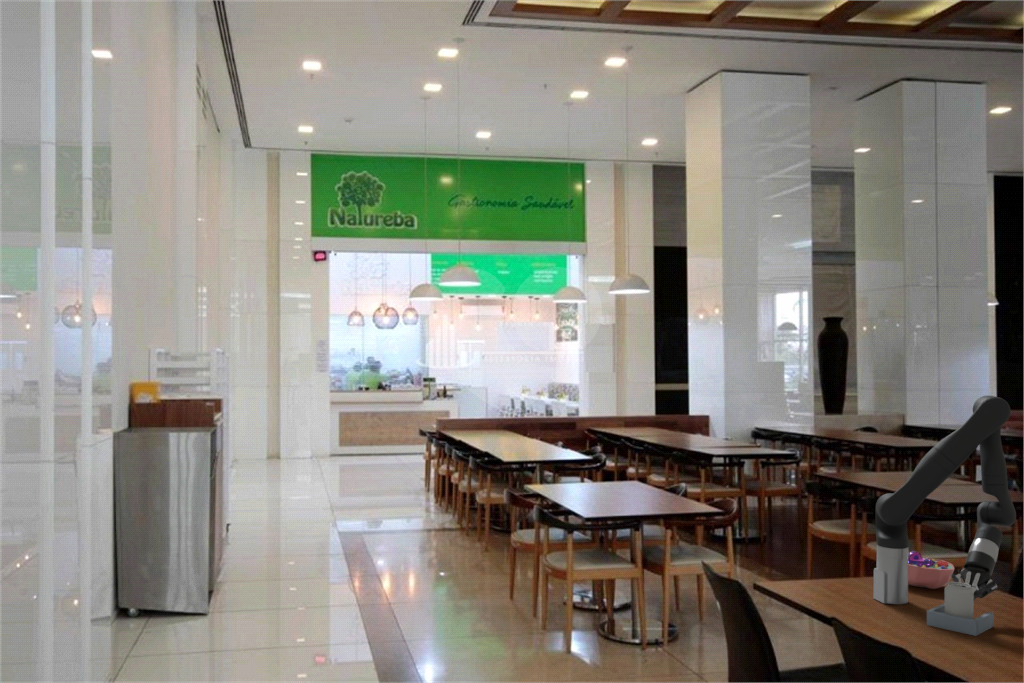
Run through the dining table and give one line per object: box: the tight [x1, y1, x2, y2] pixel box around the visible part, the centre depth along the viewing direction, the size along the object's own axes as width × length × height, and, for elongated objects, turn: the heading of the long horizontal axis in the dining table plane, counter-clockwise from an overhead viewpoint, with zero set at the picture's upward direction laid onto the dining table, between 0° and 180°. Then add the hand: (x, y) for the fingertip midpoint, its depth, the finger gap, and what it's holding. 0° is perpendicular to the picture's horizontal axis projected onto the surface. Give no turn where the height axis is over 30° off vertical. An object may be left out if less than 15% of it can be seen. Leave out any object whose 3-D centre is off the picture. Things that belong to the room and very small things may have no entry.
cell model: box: [908, 550, 955, 590], centre depth 306 cm, size 17×20×11 cm
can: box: [943, 581, 975, 619], centre depth 262 cm, size 8×8×12 cm
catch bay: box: [926, 603, 994, 637], centre depth 263 cm, size 13×13×4 cm
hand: (965, 606), depth 265 cm, fingers closed
